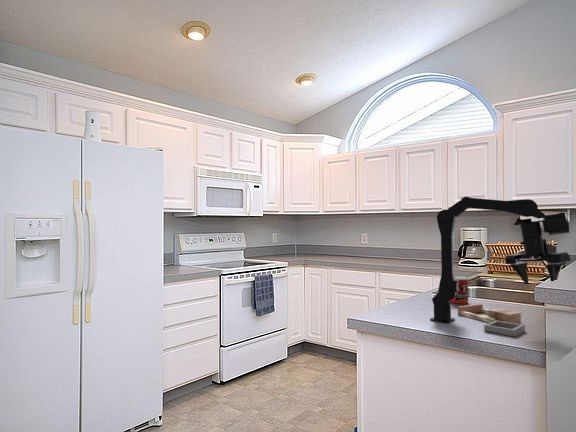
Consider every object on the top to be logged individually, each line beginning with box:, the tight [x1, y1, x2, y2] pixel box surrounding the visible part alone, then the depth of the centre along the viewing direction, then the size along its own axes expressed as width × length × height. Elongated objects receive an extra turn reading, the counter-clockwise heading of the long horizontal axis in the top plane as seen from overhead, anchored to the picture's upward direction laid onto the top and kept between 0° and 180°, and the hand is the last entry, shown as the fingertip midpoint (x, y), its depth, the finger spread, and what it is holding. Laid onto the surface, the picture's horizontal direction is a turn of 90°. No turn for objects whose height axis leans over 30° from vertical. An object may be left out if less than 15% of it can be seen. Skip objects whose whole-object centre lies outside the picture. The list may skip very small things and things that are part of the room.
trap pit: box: [483, 320, 526, 338], centre depth 132 cm, size 9×9×2 cm
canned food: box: [450, 275, 469, 305], centre depth 178 cm, size 8×8×11 cm
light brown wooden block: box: [488, 308, 522, 324], centre depth 144 cm, size 8×6×4 cm
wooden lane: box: [457, 303, 495, 324], centre depth 151 cm, size 16×11×3 cm
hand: (540, 284), depth 134 cm, fingers open, 9 cm apart
